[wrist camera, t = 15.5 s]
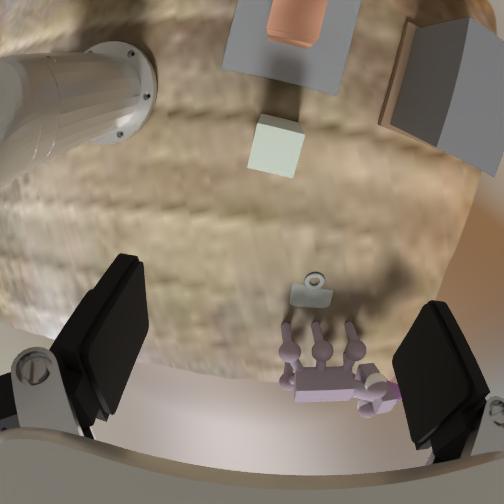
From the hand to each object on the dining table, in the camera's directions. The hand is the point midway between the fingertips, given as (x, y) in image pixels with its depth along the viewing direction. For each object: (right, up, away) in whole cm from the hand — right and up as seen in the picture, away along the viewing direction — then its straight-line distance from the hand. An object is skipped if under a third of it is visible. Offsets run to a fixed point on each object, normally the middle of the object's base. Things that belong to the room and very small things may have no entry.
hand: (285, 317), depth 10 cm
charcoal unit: (+18, +20, +17) cm, 32 cm away
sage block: (+1, +15, +22) cm, 27 cm away
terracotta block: (+3, +24, +15) cm, 29 cm away
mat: (+3, +25, +16) cm, 29 cm away
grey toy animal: (+13, -12, +38) cm, 42 cm away
